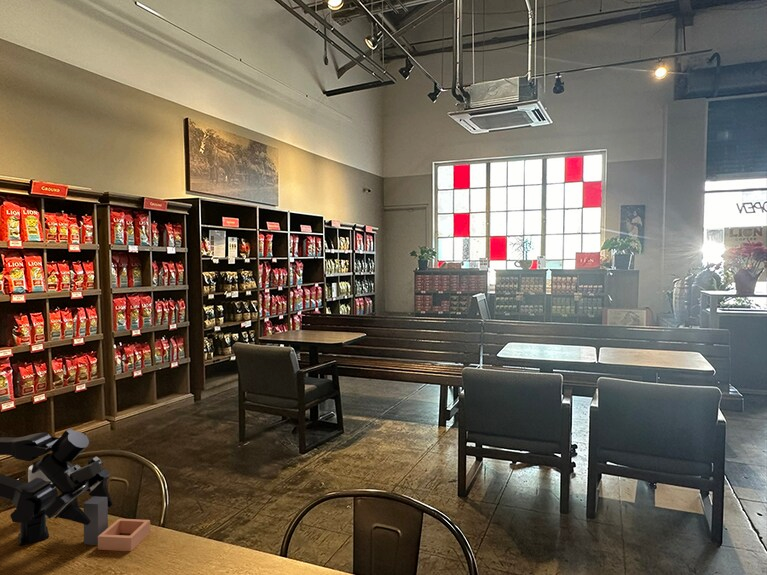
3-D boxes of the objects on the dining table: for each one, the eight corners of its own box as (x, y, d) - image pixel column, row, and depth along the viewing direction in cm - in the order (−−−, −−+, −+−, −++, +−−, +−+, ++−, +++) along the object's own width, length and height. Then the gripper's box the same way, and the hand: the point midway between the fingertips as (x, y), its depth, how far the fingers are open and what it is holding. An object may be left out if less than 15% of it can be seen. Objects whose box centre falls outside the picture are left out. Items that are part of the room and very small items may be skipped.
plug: (84, 544, 129) (83, 503, 129) (94, 535, 133) (93, 496, 133) (98, 544, 129) (97, 504, 129) (108, 536, 133) (107, 496, 133)
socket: (98, 549, 127) (97, 536, 127) (119, 530, 136) (119, 518, 136) (131, 551, 126) (131, 538, 126) (150, 532, 135) (150, 520, 135)
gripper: (54, 466, 121) (97, 512, 121) (103, 440, 140) (140, 479, 139) (25, 496, 122) (68, 541, 122) (77, 465, 141) (114, 505, 140)
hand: (100, 514), depth 131 cm, fingers open, 9 cm apart
